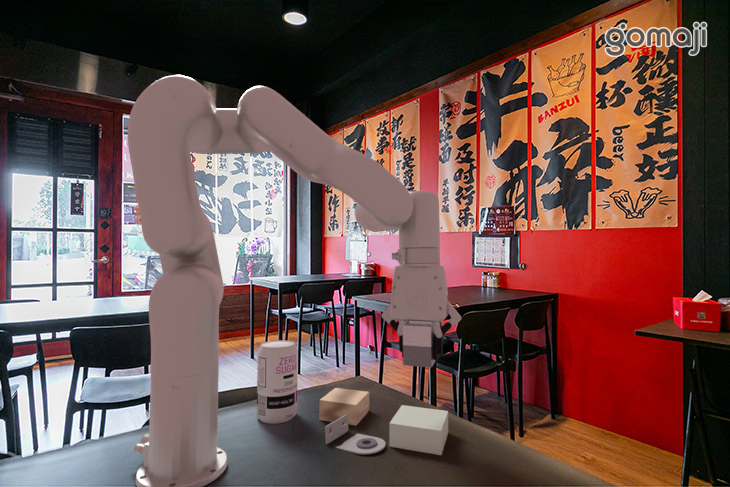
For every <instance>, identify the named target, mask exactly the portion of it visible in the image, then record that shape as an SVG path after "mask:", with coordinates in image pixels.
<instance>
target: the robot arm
mask: <svg viewBox="0 0 730 487" xmlns="http://www.w3.org/2000/svg"><path fill="white" fill-rule="evenodd" d="M216 106H217V105H216V104H215V100H214V98H213V97H212V95H211V94H210V93H209V91H208V90H207V88H206V87H205V86H204V85H202V83H200V82H199V81H197V80H196V79H193V78H192V77H189V76H185V75H182V74H174V75H168V76H164V77H162V78H159V79H158V80H155V81H154V82H153V83H151V84H149V85H148V86H147V87H146V88H145V89H144V90H143V91H142V92H141V94H140V95H139V96H138V97H137V99H136V101H135V102H134V104H133V106H132V108H131V110H130V114H129V117H128V124H127V144H128V145H127V147H128V154H129V160H130V164H131V171H132V176H133V183H134V191H135V195H136V196H135V197H136V202H137V206H138V213H139V217H140V224H141V225H140V226H141V231H142V236H143V239H144V241H145V243H146V246H148V247H149V248H150V249H151V251H153V252H154V253H156V254H158V255H159V259H160V264H161V269H162V271H161V272H162V274H161V276H160V277H158V279H157V280H156V281H155V283H154V285H153V287H152V289H151V291H150V294H149V300H148V320H149V331H150V389H149V390H150V392H149V393H150V394H149V395H150V396H149V397H150V398H149V423H148V424H149V426H148V427H149V429H148V432H149V433H148V432H147V433H145V434H144V435H142V437H141V439H140V442H139V443H138V442H137V443H136V444H135V446H134V447H133V452H134V453H135V454H140V455H143V463H142V465H141V466H140V467H139V468H138V470H137V471H136V474H135V486H136V487H205V486H207V485H209V484H210V483H213V481H215V480H217V479H218V478H220V476H221V475H222V474H223V473H224V471H225V470H226V469H227V466H228V455H227V452H226V451H225V450H223V449H222V448H220V447H219V446H218V426H219V425H218V424H219V423H218V418H219V417H218V416H219V376H220V375H219V372H220V371H219V370H220V369H219V366H220V363H219V360H220V359H219V358H220V357H219V356H220V354H219V353H220V351H219V350H220V347H219V346H220V345H219V344H220V342H219V341H220V332H219V331H220V327H219V326H220V325H219V323H220V322H219V320H220V319H219V318H220V305H221V302H222V300H223V297H224V292H225V291H224V289H225V288H224V287H225V285H224V281H223V275H222V270H221V264H220V259H219V256H218V251H217V250H218V249H217V245H216V240H215V239H216V237H215V235H214V234H215V233H214V230H213V226H212V223H211V220H210V219H209V217H208V216H207V214H206V213H205V212H204V211H203V208H202V206H201V202H200V198H199V194H198V189H197V185H196V184H197V183H196V177H195V170H194V165H193V162H192V157H191V153H193V154H200V155H227V154H229V155H230V154H233V155H234V154H235V155H236V154H237V155H238V154H256V153H266V152H270V153H271V154H273V155H274V157H277V158H278V159H279V160H280V161H282V162H283V163H284V164H285V165H286V166H287V167H289V168H290V169H292V171H294V173H296V174H298V175H299V176H300V177H301V178H302V179H304V180H307V181H309V182H312V183H317V184H322V185H327V186H329V187H332V188H334V189H336V190H338V191H340V192H341V193H343V194H344V195H345V196H346V195H347V196H348V197H349V198H350V199H352V200H353V201H355V202H356V205H355V209H354V215H355V216H354V217H355V219H356V222H357V223H358V224H359V225H360V227H362V228H363V229H364V230H366V231H370V232H376V233H379V232H385V231H395V230H396V231H397V230H398V249H397V251H396V252H391V260H395V261H397V262H398V264H399V265H397V266H396V265H395V266H394V270H393V276H392V283H391V295H390V297H391V299H390V303H389V305H388V306H387V307H386V308H385V309H384V311H383V312H382V313H381V314H380V315H381V318H382V319H383V320H384V321H385V322H386V323H387V324H389V326H390V327H391V328H392V329H393V330H394V332H396V334H397V336H398V345H399V346H398V347H399V350H398V351H399V353H401V358H402V359H403V325H404V324H405V323H407V322H409V321H423V322H432V325H433V328H434V331H435V334H434V338H433V359H434V360H436V361H439V358H440V356H442V355H443V354H444V353H443V352H444V351H443V350H444V349H443V348H444V347H443V346H444V345H443V336H444V335H445V334H446V333H447V332H449V331H450V329H452V328H453V327H455V325H457V324H458V323H459V322H460V321H461V320H462V316H461V315H460V314H459V312H458V311H457V310H456V308H455V307H454V306H453V305H452V304H451V302H450V301H449V293H448V292H449V291H448V283H447V282H448V280H447V275H446V271H445V266H444V265H441V240H440V239H441V237H440V233H441V230H440V227H441V226H440V200H439V196H438V194H437V193H435V192H433V191H430V190H412V191H409V190H408V189H407V187H406V186H405V185H404V184H403V183H402V182H401V181H400V180H399V179H398V178H397V177H396V176H394V175H393V174H392V173H391V172H390V171H389V170H388V169H386V168H385V167H384V166H383V165H381V164H380V163H379V162H378V161H377V160H374V159H373V158H371V157H369V156H368V155H366V154H364V153H362V152H361V151H359V150H356V149H354V148H352V147H350V146H348V145H347V144H344V143H341V142H339V141H337V140H335V139H334V138H332V136H330V135H329V134H327V133H326V132H325V131H324V130H323V129H321V128H320V127H319V126H318V125H317V124H315V123H314V122H313V121H312V120H311V119H310V118H308V117H307V116H306V115H305V114H304V113H303V112H301V111H300V110H299V109H298V108H297V107H296V106H294V105H293V104H292V103H291V102H290V101H288V100H287V99H286V98H285V97H284V96H283V95H281V93H278V92H277V91H276V90H274V89H272V88H270V87H269V86H264V85H255V86H253V87H250V88H249V89H247V90H246V91H245V92H244V93H243V94H242V96H241V97H240V99H239V101H238V104H237V107H236V108H217V107H216ZM448 316H450V319H449V320H447V321H446V322H445V323H444V324H443V321H444V320H446V319H447V317H448Z"/></svg>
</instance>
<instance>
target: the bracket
mask: <svg viewBox="0 0 730 487" xmlns="http://www.w3.org/2000/svg"><path fill="white" fill-rule="evenodd" d="M344 420H345V424H343V423H342V422H343V421H344ZM347 432H349V424H348V417H347V415H344V416H343V417H341V418H339V419H337V420H335V421H334V422H330V423H329V424H327V425H325V427H324V435H325V445H328V444H330V443H332V442H333V441H335V440H337V439H338V438H340V437H341V436H342V435H344V434H346V433H347ZM335 448H336V449H339V450H342V451H345V452H347V453H352V454H355V455H356V454H357V455H371V454H376V453H379V452H381V451H383V450H384V449H385V448H386V441H385V440H384V439H383V438H380V437H377V436H372V435H367V434H363V433H356V434H355V435H353V436H351V437H350V438H348V439H346V440H345V441H344V442H342V444H341V445H337V446H335Z"/></svg>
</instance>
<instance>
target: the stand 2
mask: <svg viewBox="0 0 730 487" xmlns="http://www.w3.org/2000/svg"><path fill="white" fill-rule="evenodd" d="M388 430H389V431H388V432H389V433H388V434H389V439H388V441H389V444H388V446H389V447H390V448H396V449H402V450H407V451H412V452H419V453H426V454H432V455H437V456H442V455H443V451H444V447H445V445H446V443H447V442H446V441H447V439H448V435H449V411H448V410H444V409H443V410H442V409H436V408H435V409H434V408H427V407H420V406H412V405H404V404H401V406H400V407H399V408H398V410H397V412H396V413H395V414H394V416H393V417H392V419H391V420H390V422H389V429H388Z"/></svg>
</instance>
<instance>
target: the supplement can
mask: <svg viewBox="0 0 730 487" xmlns="http://www.w3.org/2000/svg"><path fill="white" fill-rule="evenodd" d="M298 358H299V353H298V349H297V346H296V343H295V341H292V340H291V341H290V340H281V339H279V340H270V341H265V342H264V341H263V342H262V343H261V344H260V347H259V349H258V350H257V368H256V370H257V374H256V375H257V376H256V377H257V378H256V379H257V381H256V383H257V384H256V417H257V418H258V419H259V421H261V422H262V423H265V424H270V425H271V424H272V425H275V424H283V423H287V422H289V421H291V420H293V419H294V417H295V416H296V415H297V414H298V379H299V378H298V374H299V373H298V370H299V367H298V366H299V363H298V362H299V361H298V360H299V359H298Z"/></svg>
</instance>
